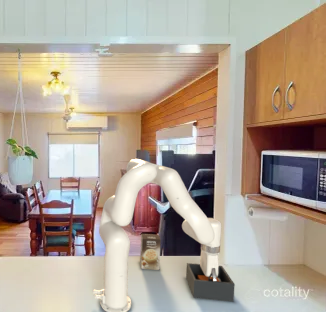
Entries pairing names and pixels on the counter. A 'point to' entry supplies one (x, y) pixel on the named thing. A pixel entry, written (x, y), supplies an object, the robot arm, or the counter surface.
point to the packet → (206, 278)
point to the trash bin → (210, 284)
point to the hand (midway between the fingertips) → (208, 286)
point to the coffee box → (150, 251)
